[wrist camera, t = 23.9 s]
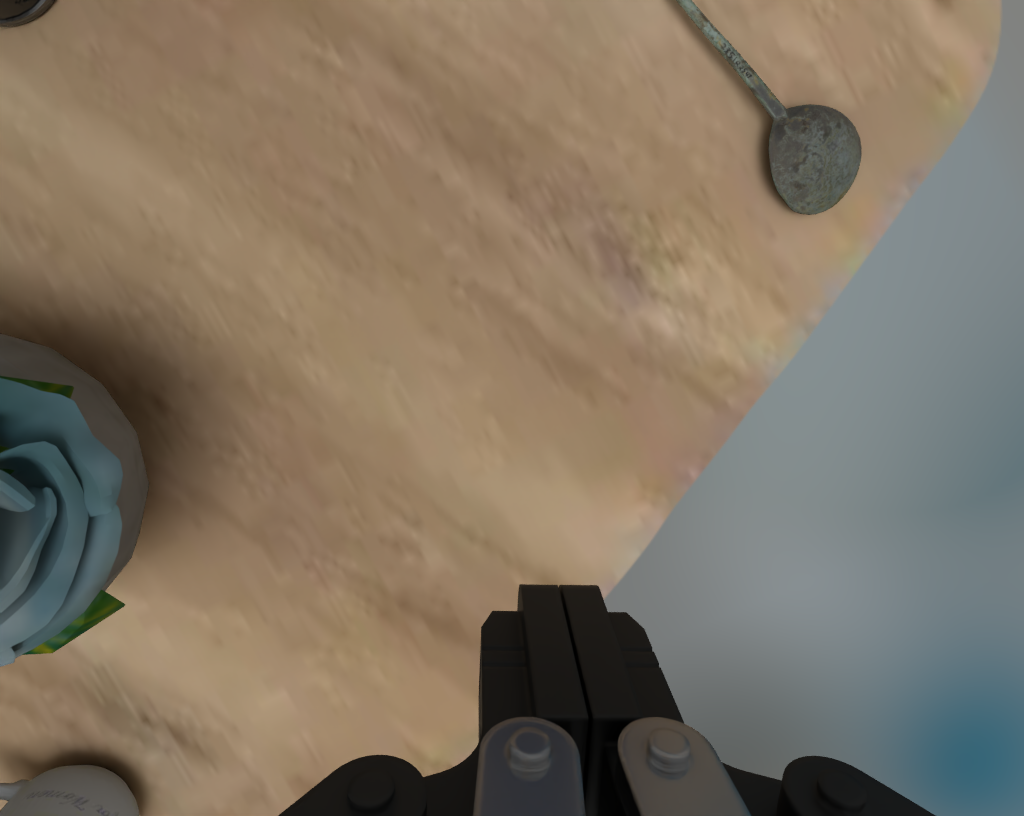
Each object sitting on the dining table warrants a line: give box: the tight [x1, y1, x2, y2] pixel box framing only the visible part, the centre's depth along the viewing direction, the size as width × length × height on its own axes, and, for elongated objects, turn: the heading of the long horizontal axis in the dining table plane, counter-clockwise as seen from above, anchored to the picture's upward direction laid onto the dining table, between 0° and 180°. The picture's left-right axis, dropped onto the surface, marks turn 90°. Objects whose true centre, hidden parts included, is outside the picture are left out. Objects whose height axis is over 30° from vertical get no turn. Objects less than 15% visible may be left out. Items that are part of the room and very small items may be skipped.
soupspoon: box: [676, 0, 861, 215], centre depth 43 cm, size 22×3×7 cm
